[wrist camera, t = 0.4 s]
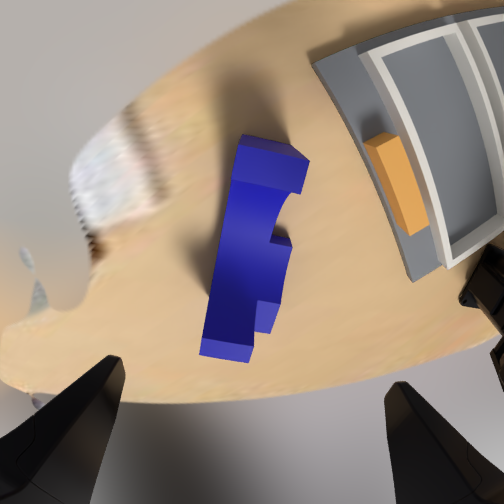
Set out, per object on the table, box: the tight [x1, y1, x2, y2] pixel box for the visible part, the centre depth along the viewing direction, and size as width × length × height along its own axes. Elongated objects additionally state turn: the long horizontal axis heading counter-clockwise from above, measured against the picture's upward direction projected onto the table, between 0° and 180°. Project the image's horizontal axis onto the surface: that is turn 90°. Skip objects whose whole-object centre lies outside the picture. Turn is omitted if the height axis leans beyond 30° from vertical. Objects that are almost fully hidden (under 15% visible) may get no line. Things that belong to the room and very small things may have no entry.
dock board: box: [311, 6, 504, 282], centre depth 14 cm, size 22×17×3 cm
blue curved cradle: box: [199, 134, 310, 363], centre depth 17 cm, size 12×4×6 cm, turn 168°
